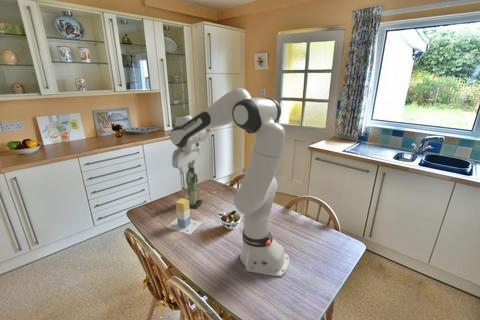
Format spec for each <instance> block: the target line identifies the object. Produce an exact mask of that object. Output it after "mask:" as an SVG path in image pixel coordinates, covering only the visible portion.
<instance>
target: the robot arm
mask: <svg viewBox="0 0 480 320" xmlns="http://www.w3.org/2000/svg"><path fill="white" fill-rule="evenodd" d="M281 116H282V107H281V105H280V103H279V102H278V101H277V100H276V99H273V98H270V97H252V96H251V94H250V93H249V91H248V90H246V88H243V87H236V88H233V89H232V90H230V91H228V92H226V93H225V94H224V95H221V96H220V98H218V99H217V100H216V101H215V102H214V103H212V104H211V105H209V106H208V107H207V108H206V109H204V110H203V111H201V112H200V113H198V114H197V115H195V116H194V117H192V115H191V114H182V115H178V116H177V117H175V120H174V121H175V122H174V123H175V125H174V126H173V127H172V129H171V132H170V135H169V136H170V137H169V138H170V141H171V142H172V144H173V145H175V147H176V148H177V149H175V150H174V151H173V152H172V155H171V166H172V167H173V168H175V169H178V170H179V173H180V174H181V175H183V174H185V169H183V168H184V166H186V165H189V164H188V163H190V162H191V165H190V166H191V168H195V167H196V166H195V164H196V160H197V159H199V158H200V155H201V148H200V143H201V142H204V141H206V139H207V137H208V129H213V128H219V127H224V126H226V125H229V124H232V123H233V122H234V123H235V124H236V126H237V127H239V128H241V129H242V130H244V131H245V132H246V133H248V134H250V135H251V134H252V135H253V134H254V135H255V139H254V140H255V141H254V145H253V149H252V152H251V157H250V161H249V165H248V168H247V170H246V172H245V175H244V177H243V179H242V181H241V184H240V186H239V188H238V190H237V191H236V193H235V194H234V196H233V205H234V207H235V208H236V209H237V211H239V213H241V214H243V230H242V234H241V235H242V247H241V248H242V249H241V252H240V255H239V258H240V259H239V260H240V261H241V263H242V264H243V265H244V268H245V271H246V272H250V273H255V274H260V275H266V276H271V277H273V276H274V277H278V278H279V277H282V276H284V275H285V274H286V273H287V271H288V269H289V266H290V257H289V254H288V253H286V252H285V249H284V246H283V245H281V244H280V243H279V242H277V240H275V239H274V232H272V233H271V232H270V216H271V212H272V208H273V204H274V203H273V202H274V200H275V195H276V191H277V189H278V181H277V178H276V177H275V176H276V174H277V172H278V168H279V164H280V162H281V158H282V155H283V152H284V147H285V146H284V145H285V139H286V130H285V128H284V126H282V125H281V124H280V123H278V121H279V119H280V118H281Z"/></svg>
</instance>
